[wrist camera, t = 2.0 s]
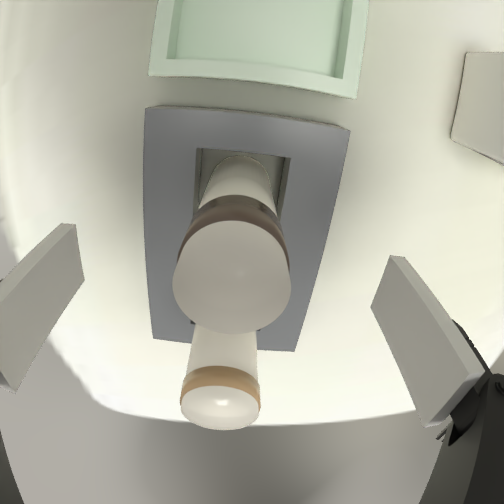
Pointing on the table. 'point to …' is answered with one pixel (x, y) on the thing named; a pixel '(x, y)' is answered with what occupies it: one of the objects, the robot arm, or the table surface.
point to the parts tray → (263, 42)
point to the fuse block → (187, 195)
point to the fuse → (221, 380)
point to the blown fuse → (234, 253)
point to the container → (481, 105)
